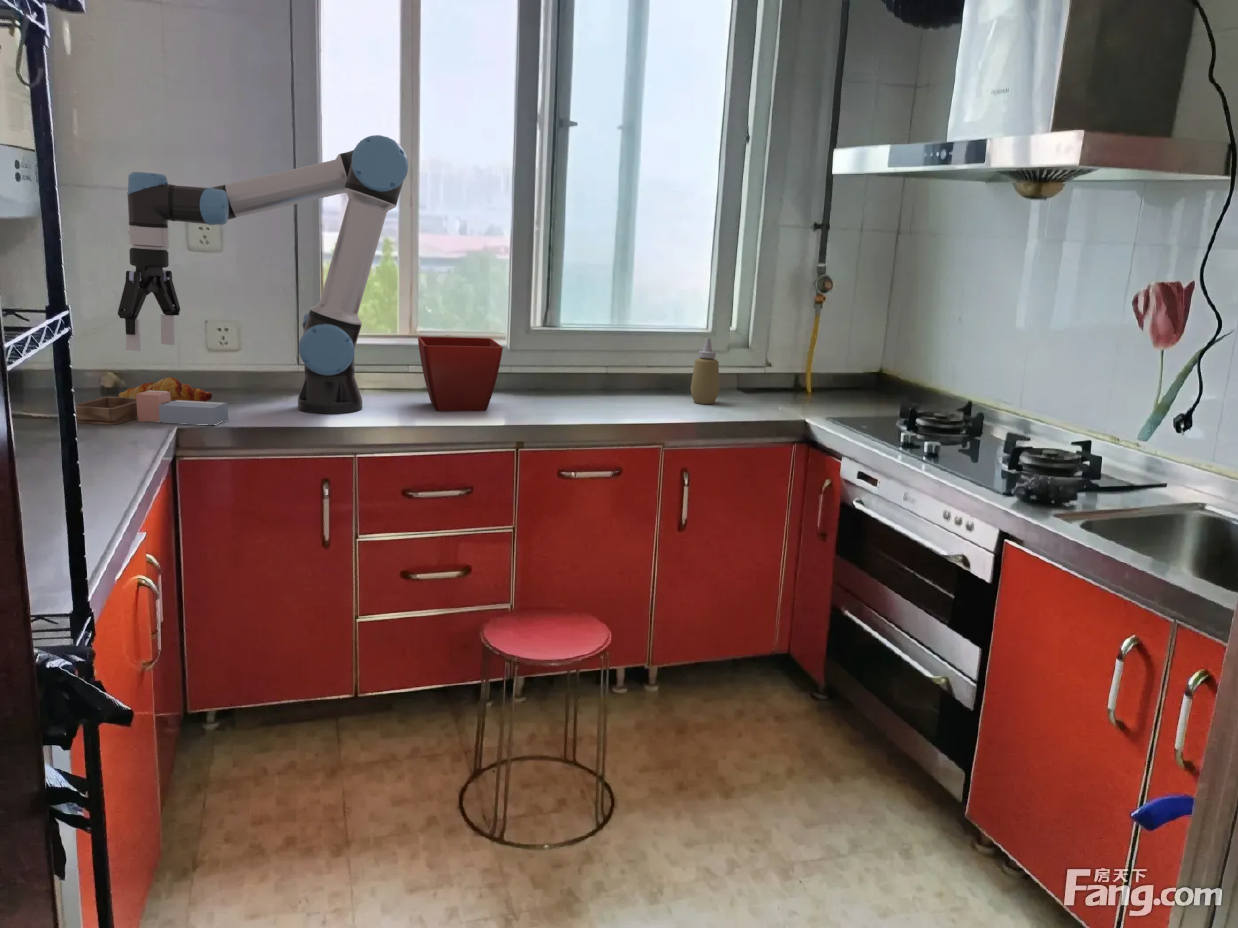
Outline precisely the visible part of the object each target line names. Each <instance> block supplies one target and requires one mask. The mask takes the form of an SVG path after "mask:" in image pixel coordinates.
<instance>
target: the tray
mask: <svg viewBox="0 0 1238 928" xmlns="http://www.w3.org/2000/svg"><path fill="white" fill-rule="evenodd" d="M75 405H76V412H77V424H89V425H91V424H92V425H93V424H94V425H108V426H109V425H111V426H115V425H119V424H121V423H125V422H128V421H131V419H132V420H135V419H137V418H136V417H138V416H137V401H136V398H125V397H119V396H107V395H106V396H103V397H98V398H96V399H92V400H88V401H87V400H86V401H84V402H80V403H76V404H75ZM134 418H135V419H134ZM124 421H125V422H124Z"/></svg>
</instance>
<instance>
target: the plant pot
mask: <svg viewBox="0 0 1238 928" xmlns="http://www.w3.org/2000/svg"><path fill="white" fill-rule="evenodd" d="M417 342H418V343H417V344H418V349H419V359H420V364H421V369H422V373H423V377H424V383H425V386H426V390H427V394H428V396H429V400H430V403H431V405H432V407H433V408H434V410H435V411H437V412H485V411H487V410H488V407H489V405H490V402H491V399H492V397H493V392H494V390H495V386H496V383H497V379H498V375H499V370H500V366H501V365H500V364H501V361H502V355H503V349H504V348H503V346H502V345H501V344H500V343H498V342H497V341H495V340H494V339H493V338H490V337H458V336H457V337H456V336H418V337H417Z"/></svg>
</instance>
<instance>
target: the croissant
mask: <svg viewBox="0 0 1238 928" xmlns="http://www.w3.org/2000/svg"><path fill="white" fill-rule="evenodd" d="M149 390H150V391H168V392H170V396H171V401H173V400H186V401H203V402H209V401H210V400H211V399H212V398H213V393H212V392H210V391H204V390H203V389H201V388H199V387H198V388H193V387H192V386H191V385H189V384H188V383H182V382H180V381H179V379H177V378H175V377H170V376H169V377H166V378H165V377H164V378H161V379H160V380H158V381H157V382H145V383H142V384H141V385H139V386H136V387H130V388H128V389H127V390H125V391H121V392H119V393H118V397H125V398H136V394H138V393H142V392H146V391H149Z"/></svg>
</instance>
